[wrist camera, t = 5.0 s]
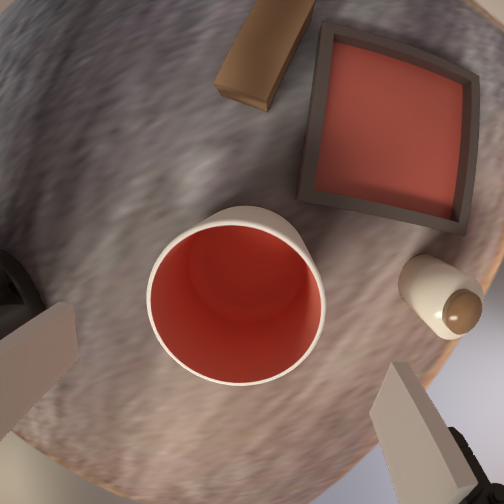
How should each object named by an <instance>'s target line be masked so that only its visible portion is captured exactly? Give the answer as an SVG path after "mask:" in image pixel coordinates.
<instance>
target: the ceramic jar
mask: <svg viewBox="0 0 504 504" xmlns="http://www.w3.org/2000/svg"><path fill="white" fill-rule="evenodd" d="M398 290H399V293H400V296H401V298H402V299H403V300H404V301H405V302H406V303H407V304H408V305H409V306H410V307H411V308H412V309H413V310H414V311H415V312H416V313H417V314H418V315H419V316H420V317H421V318H422V319H423V320H424V321H425V322H426V323H427V325H428V326H429V327H430V328H431V329H432V330H433V331H434V332H435V333H436V334H437V335H438V336H439V337H441V338H443V339H448V340H452V339H456V338H459V337H461V336H463V335H464V334H466V333H467V332H469V331H470V330H471V329H472V328H473V327H474V326H475V325H476V324H477V322H478V321H479V318H480V316H481V313H482V308H483V304H484V294H483V289H482V287H481V285H480V283H479V282H478V281H477V280H476V279H474V278H472V277H471V276H469V275H467V274H465V273H463V272H462V271H460V270H458V269H456V268H454V267H452V266H451V265H449V264H447V263H445V262H443V261H441V260H440V259H438V258H436V257H434V256H432V255H429V254H421V255H418V256H415V257H413V258H412V259H410V260H409V261H408V262H407V263H406V264H405V266H404V267H403V269H402V271H401V273H400V276H399V280H398Z"/></svg>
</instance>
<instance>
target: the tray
mask: <svg viewBox="0 0 504 504" xmlns="http://www.w3.org/2000/svg"><path fill="white" fill-rule="evenodd" d="M479 117H480V83H479V76H478V75H476V74H474V73H472V72H470V71H468V70H466V69H464V68H462V67H460V66H458V65H456V64H454V63H451V62H449V61H447V60H445V59H442V58H440V57H438V56H435V55H433V54H430V53H428V52H426V51H423V50H420V49H418V48H415V47H412V46H410V45H407V44H404V43H401V42H398V41H395V40H392V39H389V38H386V37H383V36H379V35H376V34H373V33H369V32H366V31H362V30H358V29H354V28H350V27H346V26H342V25H338V24H333V23H329V22H324V21H322V25H321V28H320V31H319V35H318V44H317V52H316V60H315V68H314V76H313V84H312V91H311V98H310V106H309V113H308V120H307V127H306V134H305V141H304V147H303V154H302V160H301V167H300V173H299V179H298V186H297V192H296V198H295V199H296V200H297V201H302V202H308V203H313V204H319V205H324V206H330V207H335V208H340V209H345V210H350V211H356V212H360V213H365V214H370V215H375V216H380V217H385V218H389V219H394V220H398V221H403V222H407V223H412V224H416V225H420V226H425V227H429V228H433V229H437V230H441V231H445V232H449V233H453V234H457V235H461V236H465V233H466V228H467V223H468V218H469V213H470V207H471V201H472V194H473V188H474V180H475V172H476V163H477V152H478V139H479Z"/></svg>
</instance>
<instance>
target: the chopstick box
mask: <svg viewBox="0 0 504 504" xmlns="http://www.w3.org/2000/svg"><path fill="white" fill-rule="evenodd" d="M314 3H315V0H257V1H256V3H255V5H254V6H253V8H252V10H251V12H250V13H249V15H248V17H247V19H246V21H245V22H244V24H243V26H242V28H241V30H240V32H239V33H238V35H237V37H236V39H235V41H234V43H233V45H232V47H231V49H230V51H229V53H228V55H227V57H226V59H225V61H224V63H223V65H222V67H221V69H220V71H219V73H218V75H217V77H216V79H215V81H214V84H215V86H216V87H217V89H218V91H219V92H220V94H221V95H222V96H223V97H226V98H229V99H232V100H235V101H238V102H241V103H243V104H246V105H249V106H251V107H254V108H257V109H259V110H262V111H265V112H268V110H269V107H270V105H271V103H272V101H273V99H274V96H275V94H276V92H277V90H278V88H279V85H280V83H281V81H282V79H283V77H284V75H285V72H286V70H287V68H288V66H289V64H290V62H291V60H292V57H293V55H294V53H295V51H296V49H297V47H298V45H299V43H300V41H301V39H302V36H303V34H304V32H305V30H306V28H307V26H308V24H309V22H310V20H311V16H312V12H313V7H314Z"/></svg>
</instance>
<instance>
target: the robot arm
mask: <svg viewBox="0 0 504 504" xmlns="http://www.w3.org/2000/svg"><path fill="white" fill-rule="evenodd" d="M78 360H79V354H78V346H77V338H76V328H75V317H74V305H71V304H68V303H64V302H61V301H60V302H58V303H56V304H55V305H53V306H52V307H50V308H49V309H47V310H45V311H44V308H43V305H42V302H41V300H40V297H39V295H38V292H37V290H36V288H35V286H34V284H33V282H32V281H31V279H30V277H29V276H28V274H27V273H26V271H25V270H24V269H23V267H22V266H21V265H20V264H19V263H18V262H17V261H16V260H15V259H14V258H13V257H12V256H10V255H9V254H7V253H6V252H3V251H1V250H0V441H1V440H2V439H3V438H4V437H5V436H6V434H7V433H8V432H9V431H10V430H11V429H12V428H13V427H14V426H15V425H16V424H17V423H18V422H19V420H20V419H21V418H22V417H23V416H24V415H25V414H26V413H27V412H28V411H29V410H30V409H31V408H32V407H33V406H34V405H35V404H36V403H37V402H38V400H39V399H40V398H41V397H42V396H43V395H44V394H45V393H46V392H47V391H48V390H49V389H50V388H51V387H52V386H53V385H54V384H55V383H56V382H57V381H58V380H59V379H60V378H61V377H62V376H63V375H64V374H65V373H66V372H67V371H68V370H69V369H70V368H71V367H72V366H73V365H74V364H75V363H76V362H77V361H78ZM369 414H370V417H371V419H372V422H373V425H374V428H375V431H376V434H377V437H378V440H379V443H380V446H381V448H382V452H383V455H384V458H385V461H386V464H387V467H388V470H389V473H390V476H391V480H392V483H393V486H394V489H395V492H396V496H397V499H398V502H399V504H504V485H502V484H498V483H492V484H491V483H490V482H489V480H488V478H487V476H486V474H485V473H484V471H483V469H482V467H481V466H480V464H479V462H478V460H477V459H476V457H475V455H473V452H472V450H471V448H470V447H468V443H467V442H466V440H465V438H464V437H463V435H462V434H460V433H459V432H458V431H457V430H456V429H455V428H454V427H447V426H446V424H445V422H444V421H443V419H442V417H441V416H440V414H439V412H438V411H437V409H436V407H435V406H434V404H433V402H432V401H431V399H430V398H429V396H428V394H427V393H426V391H425V390H424V388H423V386H422V385H421V383H420V382H419V380H418V379H417V377H416V375H415V374H414V372H413V371H412V369H411V368H410V366H409V365H408V363H407V362H391V363H390V366H389V368H388V371H387V373H386V376H385V378H384V381H383V383H382V385H381V388H380V390H379V392H378V395H377V397H376V399H375V401H374V404H373V406H372V408H371V410H370V412H369Z"/></svg>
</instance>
